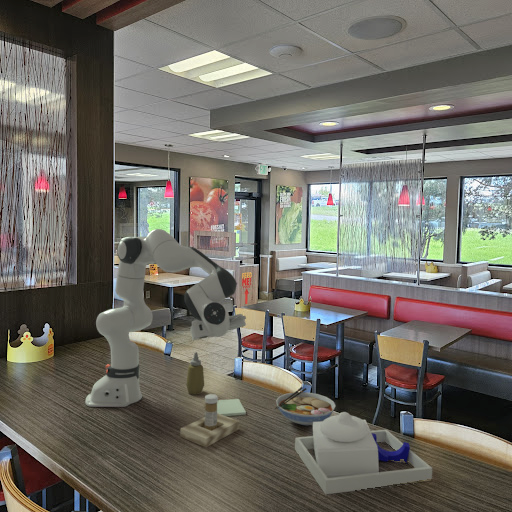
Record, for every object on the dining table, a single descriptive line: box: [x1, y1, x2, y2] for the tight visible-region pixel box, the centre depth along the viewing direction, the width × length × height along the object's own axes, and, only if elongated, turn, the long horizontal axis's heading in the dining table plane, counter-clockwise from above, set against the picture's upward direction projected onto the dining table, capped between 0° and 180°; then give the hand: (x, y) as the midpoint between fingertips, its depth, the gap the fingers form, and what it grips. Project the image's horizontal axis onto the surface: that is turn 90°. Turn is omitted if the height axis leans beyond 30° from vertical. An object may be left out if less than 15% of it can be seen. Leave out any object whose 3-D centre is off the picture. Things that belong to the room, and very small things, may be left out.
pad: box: [217, 398, 247, 417], centre depth 182 cm, size 14×14×1 cm
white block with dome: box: [312, 411, 380, 478], centre depth 141 cm, size 18×18×16 cm
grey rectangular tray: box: [294, 429, 433, 495], centre depth 142 cm, size 34×26×4 cm
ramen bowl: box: [274, 386, 336, 426], centre depth 172 cm, size 25×23×8 cm
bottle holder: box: [179, 413, 240, 448], centre depth 160 cm, size 18×12×3 cm, turn 144°
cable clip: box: [372, 433, 411, 463], centre depth 145 cm, size 12×4×6 cm, turn 79°
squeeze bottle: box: [185, 351, 205, 395], centre depth 198 cm, size 8×8×18 cm
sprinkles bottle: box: [204, 393, 219, 431], centre depth 160 cm, size 5×5×14 cm
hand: (219, 331), depth 170 cm, fingers open, 8 cm apart
